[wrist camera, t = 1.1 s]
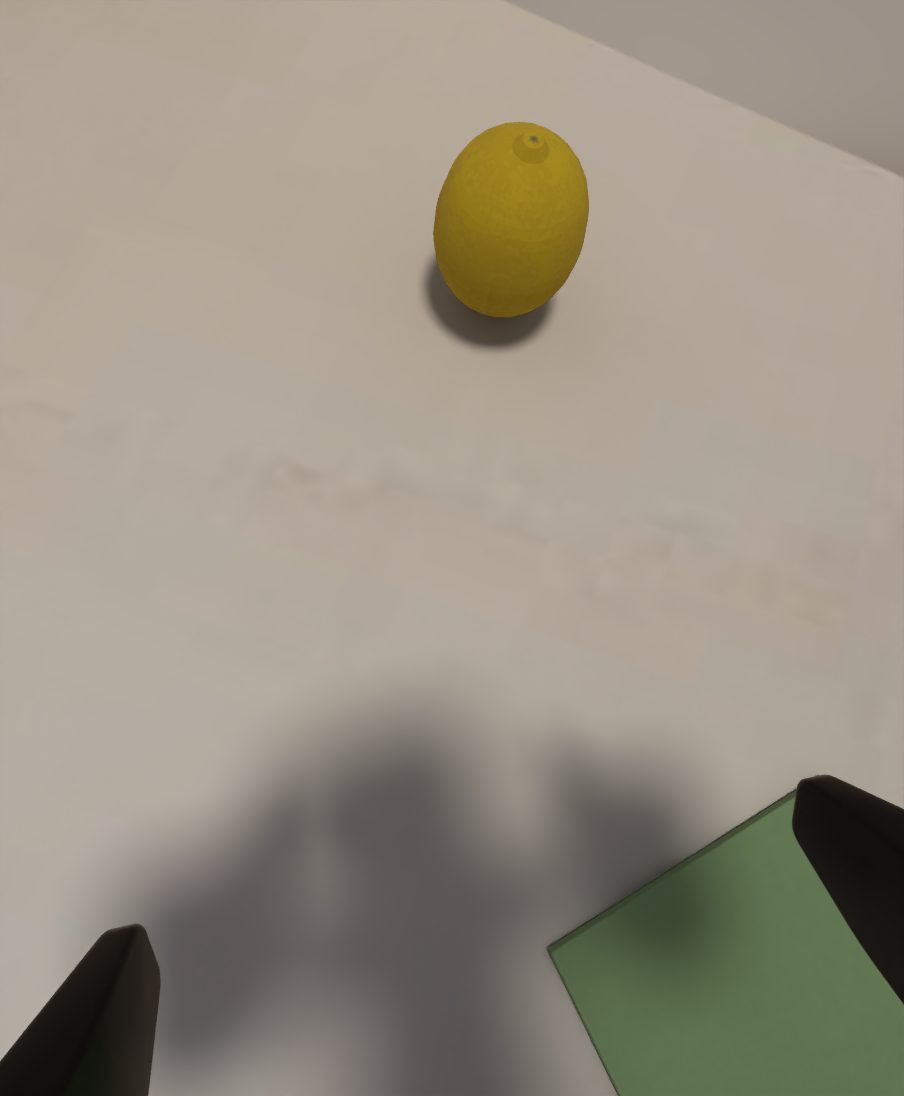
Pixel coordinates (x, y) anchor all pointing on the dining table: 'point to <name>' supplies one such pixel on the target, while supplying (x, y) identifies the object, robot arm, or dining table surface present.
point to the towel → (735, 979)
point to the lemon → (511, 219)
